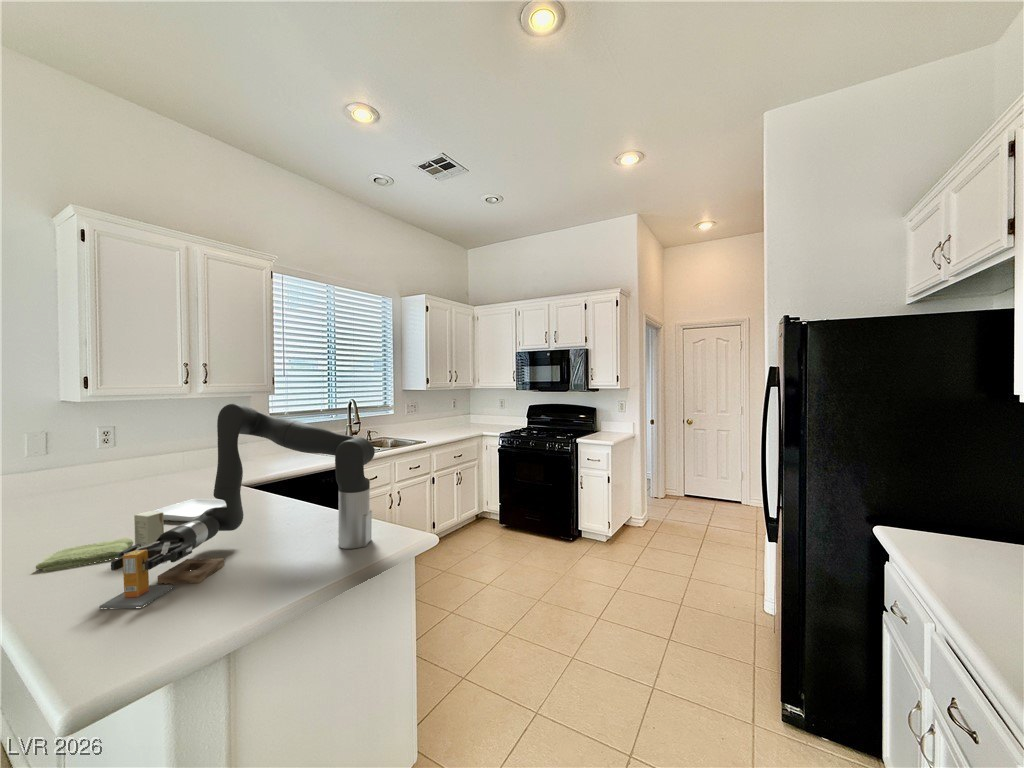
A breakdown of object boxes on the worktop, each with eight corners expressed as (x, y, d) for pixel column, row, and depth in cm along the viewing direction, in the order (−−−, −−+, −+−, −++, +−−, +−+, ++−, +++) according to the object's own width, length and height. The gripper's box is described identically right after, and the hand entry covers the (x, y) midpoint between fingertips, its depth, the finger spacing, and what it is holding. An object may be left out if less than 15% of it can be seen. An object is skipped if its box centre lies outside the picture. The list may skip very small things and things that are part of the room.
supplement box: (134, 591, 98) (134, 549, 98) (149, 590, 98) (149, 549, 98) (122, 598, 94) (122, 555, 94) (137, 597, 94) (138, 554, 95)
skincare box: (164, 552, 122) (165, 512, 122) (147, 558, 118) (147, 516, 118) (150, 550, 124) (151, 509, 124) (133, 555, 120) (133, 514, 120)
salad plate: (240, 507, 168) (240, 499, 168) (194, 525, 147) (194, 515, 147) (193, 505, 170) (193, 497, 170) (142, 523, 149) (142, 513, 149)
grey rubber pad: (172, 588, 101) (172, 585, 101) (141, 608, 92) (141, 604, 92) (134, 589, 100) (134, 586, 100) (99, 609, 91) (99, 606, 91)
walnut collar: (224, 565, 113) (224, 558, 113) (198, 582, 103) (198, 575, 103) (186, 566, 113) (186, 559, 113) (157, 584, 103) (157, 576, 103)
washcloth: (54, 558, 119) (54, 547, 119) (134, 545, 128) (134, 535, 128) (33, 575, 108) (33, 563, 108) (123, 560, 117) (123, 549, 117)
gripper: (155, 525, 110) (96, 550, 93) (211, 524, 111) (162, 549, 94) (155, 553, 110) (96, 583, 93) (210, 552, 111) (162, 581, 94)
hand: (129, 566), depth 94 cm, fingers open, 7 cm apart
